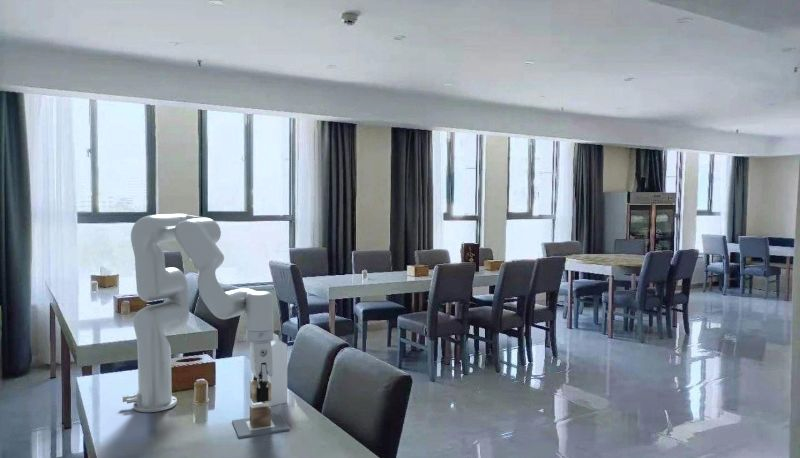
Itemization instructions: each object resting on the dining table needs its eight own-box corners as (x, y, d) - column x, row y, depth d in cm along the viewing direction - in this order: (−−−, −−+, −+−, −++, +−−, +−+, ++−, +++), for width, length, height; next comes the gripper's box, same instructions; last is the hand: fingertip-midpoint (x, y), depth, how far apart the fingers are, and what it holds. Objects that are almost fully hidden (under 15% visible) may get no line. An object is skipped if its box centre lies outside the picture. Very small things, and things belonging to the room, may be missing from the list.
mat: (238, 438, 159) (238, 436, 159) (232, 422, 170) (232, 420, 170) (289, 430, 165) (289, 428, 165) (280, 415, 176) (280, 413, 176)
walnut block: (253, 428, 164) (252, 411, 164) (249, 422, 169) (249, 405, 168) (270, 425, 166) (270, 408, 166) (267, 419, 171) (267, 402, 170)
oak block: (253, 403, 164) (253, 385, 163) (250, 397, 168) (250, 380, 168) (271, 400, 166) (271, 383, 165) (267, 395, 170) (267, 378, 170)
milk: (270, 406, 183) (269, 337, 181) (262, 401, 188) (261, 333, 186) (287, 402, 187) (287, 334, 185) (279, 397, 191) (279, 330, 190)
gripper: (279, 340, 160) (280, 406, 161) (267, 327, 175) (267, 387, 176) (251, 343, 156) (252, 410, 158) (241, 329, 172) (242, 390, 173)
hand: (260, 397), depth 167 cm, fingers closed on oak block, 5 cm apart
